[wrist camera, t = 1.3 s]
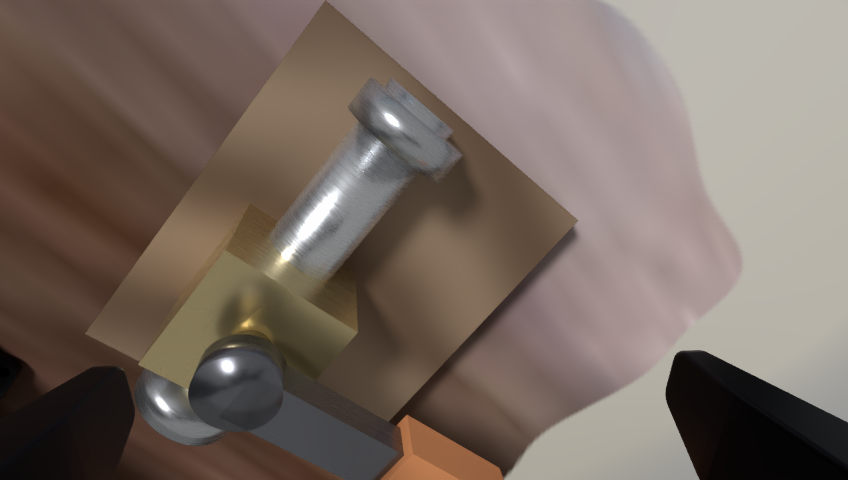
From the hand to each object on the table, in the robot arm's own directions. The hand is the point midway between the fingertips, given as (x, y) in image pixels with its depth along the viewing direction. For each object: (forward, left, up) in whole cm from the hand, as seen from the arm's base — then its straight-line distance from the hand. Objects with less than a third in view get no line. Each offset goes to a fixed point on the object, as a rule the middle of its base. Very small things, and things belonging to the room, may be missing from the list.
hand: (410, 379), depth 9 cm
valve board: (-4, -2, -14) cm, 15 cm away
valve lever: (-6, -4, -7) cm, 10 cm away
